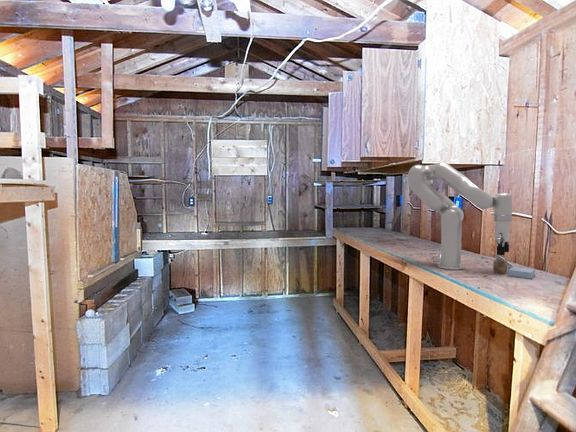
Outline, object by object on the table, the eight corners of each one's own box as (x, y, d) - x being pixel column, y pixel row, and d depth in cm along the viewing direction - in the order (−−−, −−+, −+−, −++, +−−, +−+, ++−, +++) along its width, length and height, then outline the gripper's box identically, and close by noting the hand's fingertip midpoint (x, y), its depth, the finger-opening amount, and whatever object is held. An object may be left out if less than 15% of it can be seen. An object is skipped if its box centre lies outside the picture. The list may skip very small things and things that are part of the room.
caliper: (495, 263, 194) (495, 252, 194) (497, 263, 194) (497, 252, 194) (518, 272, 174) (519, 259, 174) (520, 272, 174) (521, 259, 173)
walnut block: (493, 272, 172) (493, 260, 171) (495, 271, 175) (495, 259, 175) (504, 274, 168) (505, 262, 168) (506, 272, 172) (507, 260, 171)
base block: (507, 276, 165) (507, 269, 164) (511, 272, 171) (511, 266, 171) (531, 279, 158) (532, 272, 158) (534, 275, 165) (535, 269, 165)
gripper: (498, 217, 179) (498, 250, 179) (489, 219, 166) (489, 255, 167) (515, 217, 173) (515, 251, 174) (508, 220, 161) (508, 256, 162)
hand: (502, 253), depth 170 cm, fingers open, 9 cm apart
